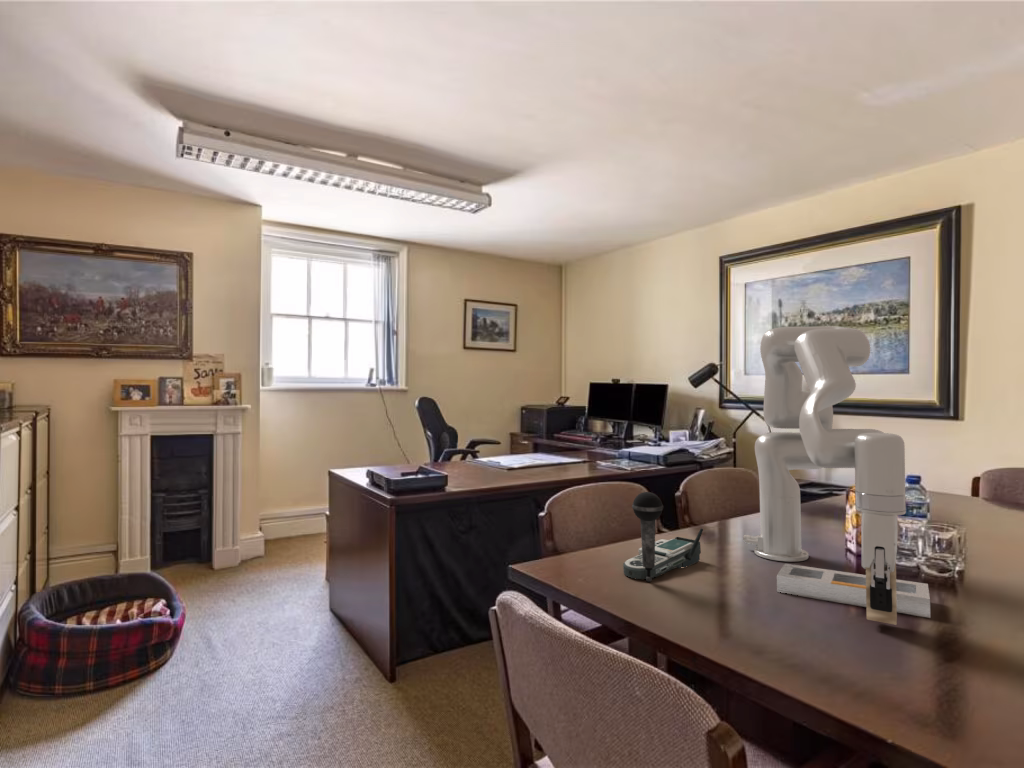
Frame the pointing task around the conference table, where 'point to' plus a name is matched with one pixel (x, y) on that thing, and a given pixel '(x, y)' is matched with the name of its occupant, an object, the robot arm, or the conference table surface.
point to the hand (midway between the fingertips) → (881, 604)
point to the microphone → (648, 526)
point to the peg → (892, 616)
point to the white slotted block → (849, 588)
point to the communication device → (666, 557)
